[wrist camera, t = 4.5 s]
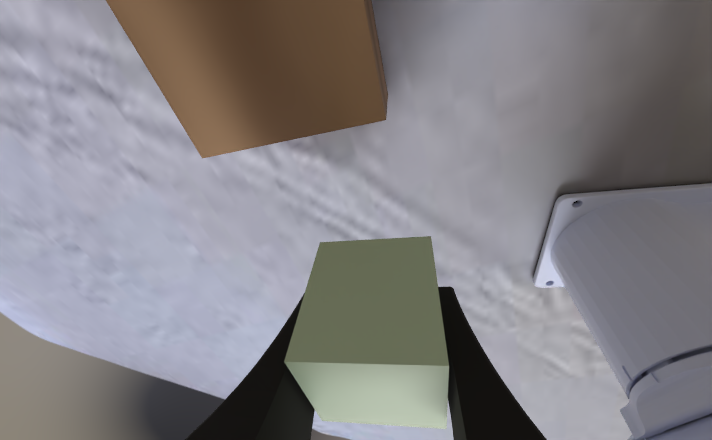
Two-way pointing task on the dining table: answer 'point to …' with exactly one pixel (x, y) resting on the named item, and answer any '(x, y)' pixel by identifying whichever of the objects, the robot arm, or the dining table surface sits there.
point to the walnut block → (260, 66)
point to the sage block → (373, 335)
